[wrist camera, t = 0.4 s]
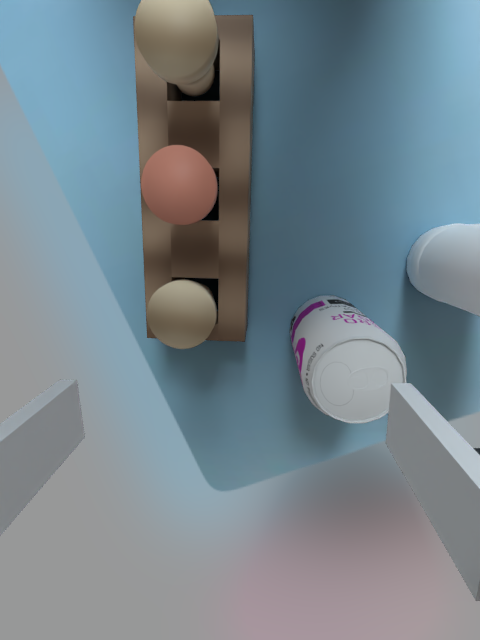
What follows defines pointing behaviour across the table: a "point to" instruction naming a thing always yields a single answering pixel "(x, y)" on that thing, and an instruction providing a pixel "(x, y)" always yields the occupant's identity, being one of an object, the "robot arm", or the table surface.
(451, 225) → the bottle
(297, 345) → the supplement can
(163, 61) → the maple plug
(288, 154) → the table surface
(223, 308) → the socket board
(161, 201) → the brick-red plug
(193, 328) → the maple plug
